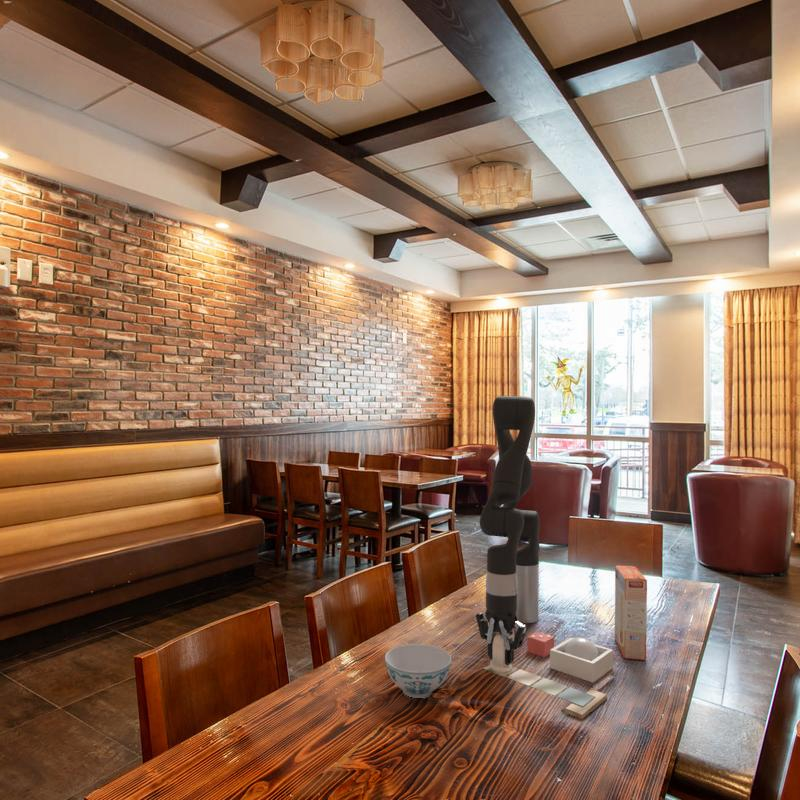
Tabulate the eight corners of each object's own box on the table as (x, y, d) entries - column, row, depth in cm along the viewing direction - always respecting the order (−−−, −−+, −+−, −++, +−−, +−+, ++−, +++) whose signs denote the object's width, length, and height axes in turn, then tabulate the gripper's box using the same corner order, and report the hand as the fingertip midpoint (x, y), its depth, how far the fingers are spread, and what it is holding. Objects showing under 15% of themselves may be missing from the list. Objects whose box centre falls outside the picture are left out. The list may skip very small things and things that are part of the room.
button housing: (549, 672, 140) (550, 649, 140) (571, 659, 148) (571, 637, 148) (593, 687, 132) (593, 663, 132) (613, 672, 140) (613, 649, 140)
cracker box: (647, 661, 147) (648, 579, 147) (623, 659, 148) (623, 577, 148) (636, 640, 160) (636, 565, 161) (614, 638, 162) (614, 564, 162)
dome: (558, 671, 140) (558, 638, 140) (573, 661, 145) (574, 629, 146) (589, 682, 134) (590, 648, 134) (604, 671, 140) (604, 638, 140)
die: (527, 656, 149) (527, 636, 149) (537, 650, 153) (537, 631, 153) (544, 661, 146) (544, 641, 146) (554, 656, 149) (554, 636, 149)
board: (471, 675, 137) (471, 670, 137) (499, 660, 146) (499, 655, 146) (582, 719, 118) (581, 713, 118) (606, 699, 127) (606, 693, 127)
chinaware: (460, 684, 133) (460, 651, 133) (436, 715, 119) (437, 677, 119) (401, 671, 139) (401, 639, 139) (372, 699, 126) (373, 663, 126)
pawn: (485, 668, 139) (485, 633, 139) (497, 661, 142) (497, 627, 143) (503, 675, 135) (504, 639, 135) (515, 668, 139) (515, 633, 139)
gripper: (468, 586, 141) (467, 657, 141) (518, 600, 132) (517, 675, 131) (486, 580, 147) (485, 648, 146) (535, 593, 137) (534, 665, 137)
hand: (500, 660), depth 139 cm, fingers closed on pawn, 4 cm apart
